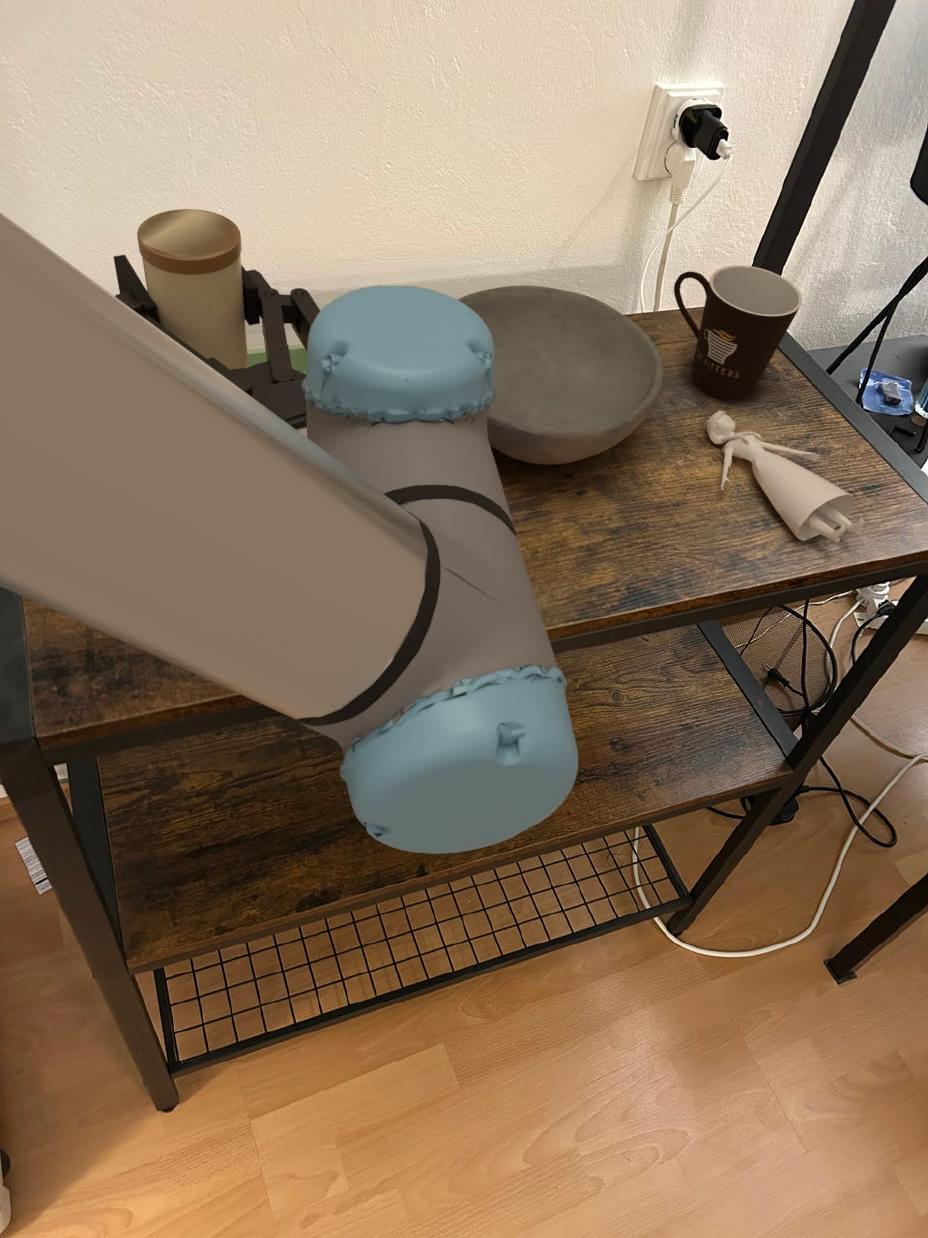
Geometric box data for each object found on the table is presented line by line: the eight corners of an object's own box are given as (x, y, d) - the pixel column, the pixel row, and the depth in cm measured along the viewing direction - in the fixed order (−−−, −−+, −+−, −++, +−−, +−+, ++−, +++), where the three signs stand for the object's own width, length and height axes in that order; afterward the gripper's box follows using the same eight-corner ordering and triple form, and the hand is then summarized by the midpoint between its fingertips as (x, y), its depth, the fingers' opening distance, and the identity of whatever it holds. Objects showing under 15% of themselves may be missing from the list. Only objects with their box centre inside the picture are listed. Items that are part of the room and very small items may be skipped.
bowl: (688, 471, 87) (715, 398, 81) (483, 528, 79) (497, 452, 73) (567, 341, 98) (583, 268, 92) (378, 380, 91) (382, 303, 85)
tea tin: (166, 413, 65) (144, 263, 57) (154, 360, 69) (130, 211, 61) (258, 403, 67) (249, 255, 59) (241, 351, 71) (230, 205, 63)
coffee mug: (781, 400, 96) (820, 310, 88) (707, 412, 93) (741, 321, 85) (720, 334, 102) (752, 245, 95) (650, 344, 100) (676, 253, 92)
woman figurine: (806, 533, 76) (668, 411, 87) (788, 574, 79) (657, 452, 90) (909, 496, 81) (766, 385, 91) (888, 537, 84) (752, 425, 94)
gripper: (147, 569, 53) (39, 340, 65) (449, 481, 61) (301, 290, 73) (126, 464, 48) (12, 235, 60) (462, 381, 55) (299, 192, 67)
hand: (171, 265), depth 66 cm, fingers closed on tea tin, 6 cm apart
